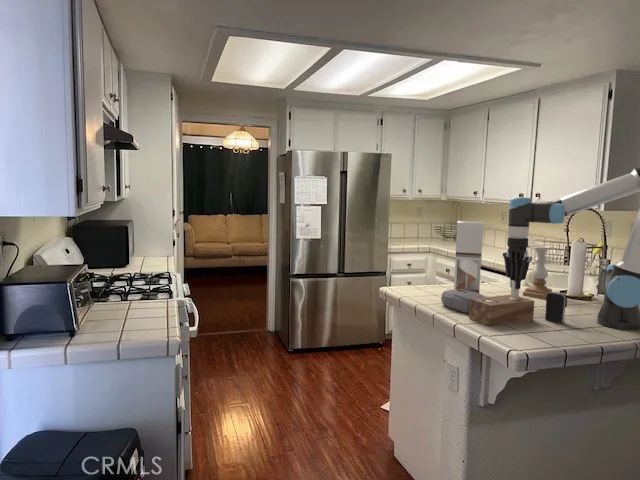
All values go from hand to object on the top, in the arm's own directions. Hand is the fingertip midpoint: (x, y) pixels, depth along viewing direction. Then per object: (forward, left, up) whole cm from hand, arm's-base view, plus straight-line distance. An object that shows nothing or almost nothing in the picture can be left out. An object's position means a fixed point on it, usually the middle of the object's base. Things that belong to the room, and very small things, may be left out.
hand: (514, 296), depth 190 cm
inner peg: (0, 0, -7) cm, 7 cm away
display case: (+38, -9, -9) cm, 40 cm away
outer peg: (0, +12, -7) cm, 14 cm away
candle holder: (+26, -42, -9) cm, 50 cm away
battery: (-9, -13, -9) cm, 18 cm away
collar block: (0, +6, -9) cm, 11 cm away
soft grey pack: (+18, +8, -9) cm, 22 cm away
